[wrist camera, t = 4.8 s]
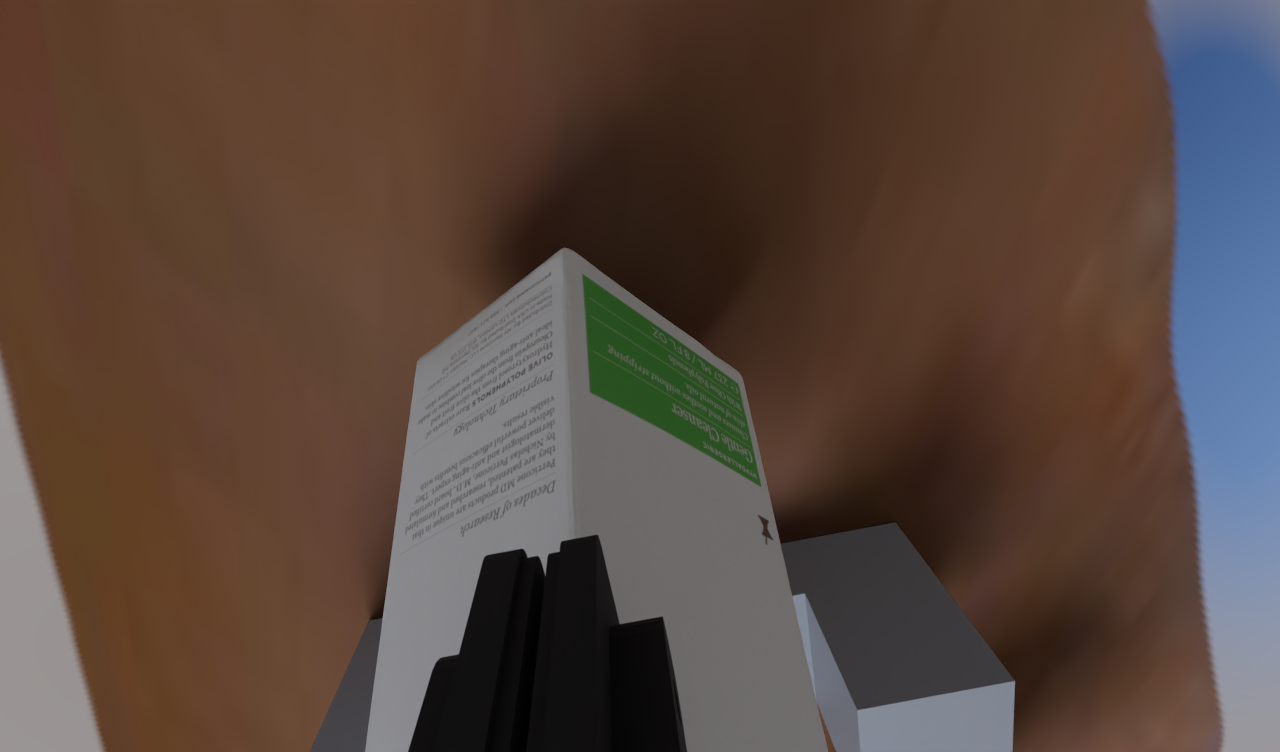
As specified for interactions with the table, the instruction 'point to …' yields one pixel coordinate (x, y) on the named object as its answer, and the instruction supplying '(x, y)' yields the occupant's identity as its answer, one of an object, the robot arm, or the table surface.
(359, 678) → the u rest
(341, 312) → the table surface
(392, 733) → the skincare box
